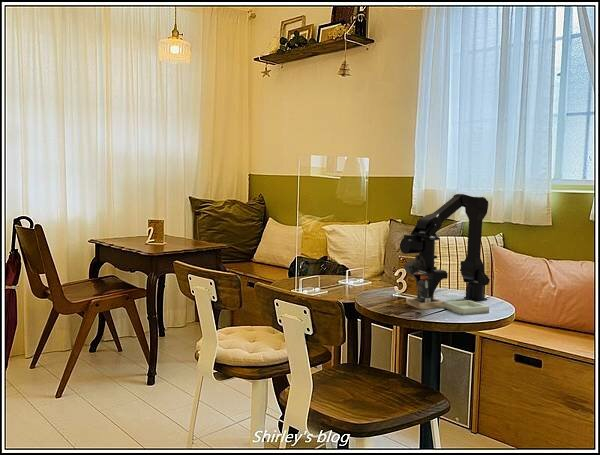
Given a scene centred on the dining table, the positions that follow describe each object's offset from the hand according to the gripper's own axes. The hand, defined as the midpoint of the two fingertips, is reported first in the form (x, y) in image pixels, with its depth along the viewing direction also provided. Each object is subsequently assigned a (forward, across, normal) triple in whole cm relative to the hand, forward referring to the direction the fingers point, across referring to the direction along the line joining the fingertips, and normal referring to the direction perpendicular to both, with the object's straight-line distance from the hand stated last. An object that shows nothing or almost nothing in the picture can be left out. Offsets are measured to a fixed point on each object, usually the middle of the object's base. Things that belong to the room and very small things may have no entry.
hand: (425, 294), depth 213 cm
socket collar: (+4, 0, 0) cm, 4 cm away
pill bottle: (+4, 0, 0) cm, 4 cm away
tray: (+4, +12, +10) cm, 15 cm away
